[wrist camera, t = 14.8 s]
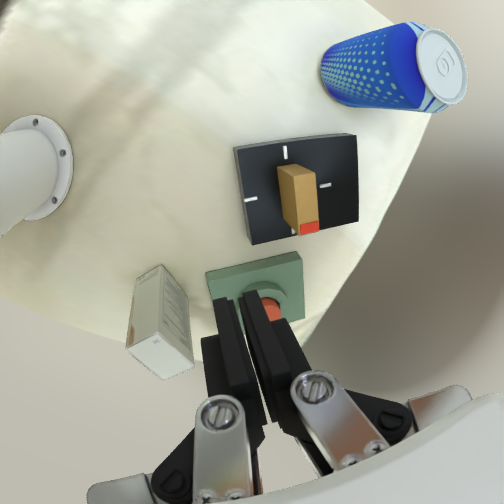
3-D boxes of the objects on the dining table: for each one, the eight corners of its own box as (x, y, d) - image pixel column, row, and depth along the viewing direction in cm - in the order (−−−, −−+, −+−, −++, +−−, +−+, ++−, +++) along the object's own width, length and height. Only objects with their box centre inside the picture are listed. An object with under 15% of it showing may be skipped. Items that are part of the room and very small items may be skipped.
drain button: (251, 322, 36) (254, 331, 35) (247, 301, 35) (250, 309, 33) (278, 315, 37) (282, 324, 35) (275, 294, 35) (280, 302, 34)
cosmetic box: (135, 279, 34) (120, 347, 23) (162, 262, 34) (156, 329, 23) (163, 312, 37) (162, 383, 26) (190, 298, 37) (196, 368, 26)
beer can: (377, 106, 30) (476, 118, 17) (321, 109, 30) (417, 114, 16) (368, 46, 26) (464, 30, 13) (309, 43, 26) (399, 7, 12)
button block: (221, 329, 41) (225, 348, 37) (205, 272, 36) (208, 290, 32) (299, 309, 42) (309, 326, 39) (296, 251, 37) (307, 265, 34)
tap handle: (276, 166, 29) (294, 176, 25) (295, 163, 29) (316, 173, 25) (283, 218, 32) (299, 237, 27) (301, 214, 32) (320, 232, 28)
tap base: (246, 237, 35) (251, 246, 33) (232, 147, 30) (236, 150, 27) (349, 214, 37) (359, 222, 34) (345, 133, 31) (357, 135, 29)
